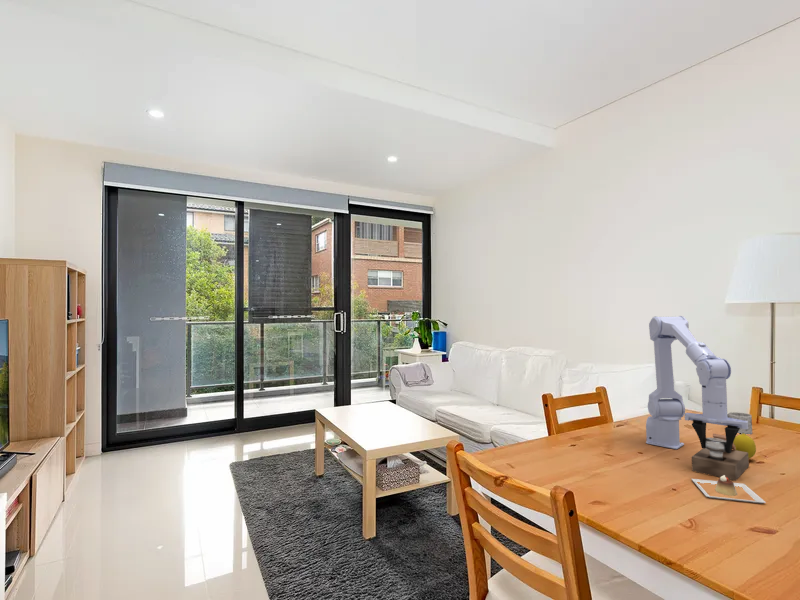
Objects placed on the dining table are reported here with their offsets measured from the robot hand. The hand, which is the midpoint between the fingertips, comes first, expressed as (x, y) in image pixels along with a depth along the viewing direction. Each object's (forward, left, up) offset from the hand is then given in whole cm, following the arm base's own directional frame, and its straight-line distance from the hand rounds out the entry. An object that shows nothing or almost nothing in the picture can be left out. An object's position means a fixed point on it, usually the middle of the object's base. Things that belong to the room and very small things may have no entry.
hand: (716, 449), depth 122 cm
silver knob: (0, 0, -3) cm, 3 cm away
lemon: (+3, +18, -6) cm, 19 cm away
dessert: (+5, -14, -7) cm, 17 cm away
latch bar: (0, +9, 0) cm, 9 cm away
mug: (-6, +56, -6) cm, 57 cm away
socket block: (0, +4, -6) cm, 7 cm away
